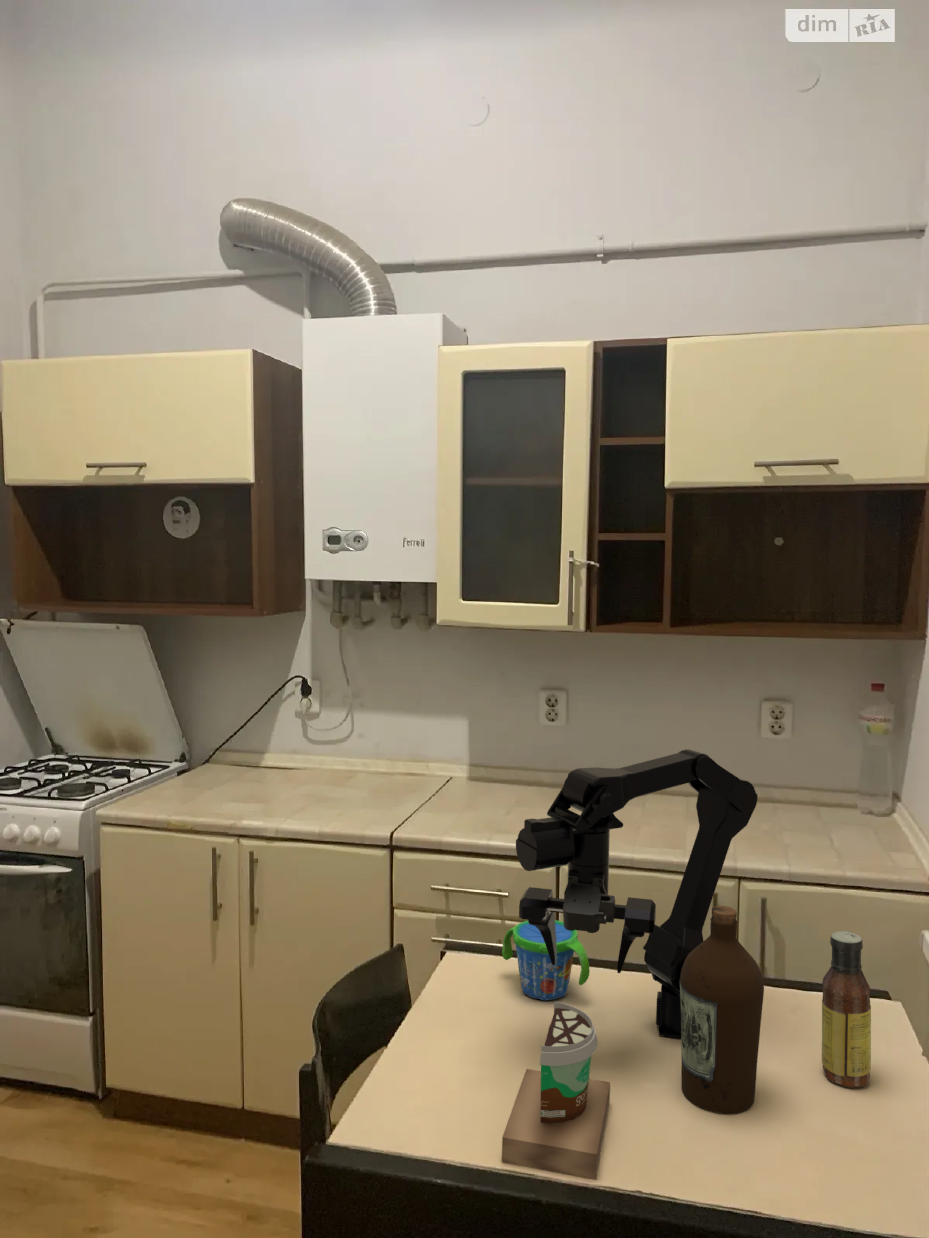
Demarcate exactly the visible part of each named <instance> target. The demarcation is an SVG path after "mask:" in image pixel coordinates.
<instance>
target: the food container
mask: <svg viewBox="0 0 929 1238" xmlns="http://www.w3.org/2000/svg"><path fill="white" fill-rule="evenodd" d="M553 1007H554V1008H553V1016H552V1018H551V1022H550V1025H549V1026H548V1030H547V1035H546V1039H545V1043H544V1045H541V1046H540V1057H539V1059H540V1060H539V1061H540V1062H539V1065H540V1071H541V1123H563V1122H567V1121H570V1120H574V1119H575V1118H577V1117H578V1116H580V1115H582V1113H583V1112H584V1110H585V1108H586V1103H587V1093H588V1083H589V1079H590V1072H591V1063H592V1062H591V1060H592V1055H593V1054H594V1053H595V1051H596V1050H597V1047H598V1046H599V1045H598V1036H597V1031H596V1027H595V1025H594V1024H593V1020H592V1019H591V1017H590V1016H589V1015H588V1014H587V1013H586V1012H585V1011H584V1010H582V1009H579V1008H578V1007H575V1006H573V1005H570V1004H567V1003H564V1002H558V1001H554V1003H553Z"/></svg>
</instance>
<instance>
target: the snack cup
mask: <svg viewBox="0 0 929 1238" xmlns="http://www.w3.org/2000/svg"><path fill="white" fill-rule="evenodd" d="M555 928H556V946H557V956H556V964H555V965H552V963H551V960H550V957H549V954H548V950H547V947H546V944H545V942H544V939H543V937H542V935H541V933H540V931H539V929H538V928H537V927H536V926H534V925H530V924H529V922H528V920H524V921H522V922H519V923H518V924H516V925H515V926H514V927H511V928H510V929H508V930H507V931H506V934H505V936H504V938H503V943H502V948H501V949H502V950H501V953H502V958H503V959H504V960H505V961H509V960H510V959H512V957H513V955H514V952H513V945H512V939H513V943H514V944H515V949H516V956H517V965H518V975H519V978H520V979H519V980H520V986H521V989H522V992H523V994H525V995H527V996H529V997H530V998H533V999H538V1000H542V1001H545V1002H546V1001H548V1000H549V1001H550V1000H556V999H559V998H563V997H565V995H566V994H567V991H568V989H569V984H570V978H571V972H572V967H573V960H574V953H576V954H577V957H578V961H579V965H580V974H579V977H578V985H579V986H583V985H584V984H585V983H586V982H587V981H588V980H589V976H590V963H589V957H588V956H587V953H586V949H585V947H584V945H583V943H581V942H580V941H579V939H578V938H579V937H578V936H579V935H578V930H574V931H569V930H567V929H565V928H564V921H561V920H556V919H555Z"/></svg>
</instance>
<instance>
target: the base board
mask: <svg viewBox="0 0 929 1238" xmlns="http://www.w3.org/2000/svg"><path fill="white" fill-rule="evenodd" d="M610 1094H611V1082H610V1081H605V1080H600V1079H599V1080H598V1079H593V1078H589V1083H588V1093H587V1103H586V1108H585V1110H584V1112H583V1113H582V1115H580V1116H578V1117H577V1118H575V1119H574V1120H570V1121H567V1122H563V1123H541V1070H537V1069H531V1068H526V1070H525V1072H524V1074H523V1078H522V1081H521V1084H520V1085H519V1090H518V1092H517V1094H516V1098H515V1100H514V1103H513V1106H512V1109H511V1112H510V1115H509V1117H508V1121H507V1123H506V1126H505V1129H504V1132H503V1134H502V1137H501V1138H502V1139H501V1146H502V1147H501V1162H502V1163H505V1164H511V1165H517V1166H522V1167H528V1168H534V1169H538V1170H543V1171H544V1170H545V1171H549V1172H555V1173H560V1174H564V1175H571V1176H575V1177H581V1178H587V1179H592V1180H597V1178H598V1173H599V1172H598V1171H599V1165H600V1160H601V1153H602V1149H603V1143H604V1138H605V1131H606V1128H607V1122H608V1115H609V1109H610V1099H611V1097H610V1096H611V1095H610Z"/></svg>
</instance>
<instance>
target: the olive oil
mask: <svg viewBox="0 0 929 1238" xmlns="http://www.w3.org/2000/svg"><path fill="white" fill-rule="evenodd" d="M737 912H738V911H737V910H736V909H735V908H733V907H731V906H728V905H716V906H713V907H711V917H710V924H709V925H710V927H709V928H710V930H709V931H710V933H709V934H710V935H708V937H706V939H705V940H703V942H702V943H701V944H700V945H698V946H697V947H696V948H695V949H694V950H692V951H691V952H690V953H689V955H688V956H687V957H686V959H685V962H684V964H683V967H682V970H681V976H680V999H681V1038H680V1040H681V1041H680V1043H681V1045H680V1046H681V1048H680V1049H681V1054H680V1055H681V1057H680V1058H681V1069H680V1070H681V1076H680V1077H681V1081H680V1082H681V1084H680V1085H681V1091H682V1094H683V1095H684V1096H685V1098H686V1099H687V1100H688V1101H689V1102H690V1103H692V1104H694V1105H695V1106H696V1107H698V1108H700V1109H703V1110H704V1111H705V1110H706V1111H708V1112H710V1113H711V1112H712V1113H715V1114H721V1115H733V1114H740V1113H744V1112H746V1111H747V1110H749V1109H750V1108H752V1107H753V1105H754V1103H755V1099H756V1086H757V1070H758V1068H757V1067H758V1059H759V1057H758V1056H759V1048H760V1047H759V1045H760V1036H761V1024H762V1013H763V1005H764V1004H763V1003H764V994H765V985H764V979H763V975H762V971H761V968H760V966H759V964H758V962H757V961H756V960H755V959H754V957H753V956H752V955H751V954H750V953H749V952H748V950H746V948H745V947H744V945H742V943H740V941H739V939H738V938H737V936H738V935H737V932H738V921H737V917H738V916H737V915H738V913H737Z"/></svg>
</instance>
